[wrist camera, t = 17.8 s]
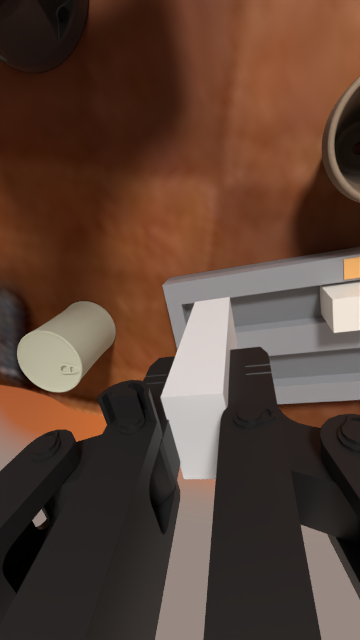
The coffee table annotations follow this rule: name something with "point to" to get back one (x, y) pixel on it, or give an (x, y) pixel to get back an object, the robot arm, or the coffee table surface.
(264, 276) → the switch bank
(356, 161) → the flower pot
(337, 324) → the tab
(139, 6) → the coffee table surface
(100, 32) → the coffee table surface
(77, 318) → the can
